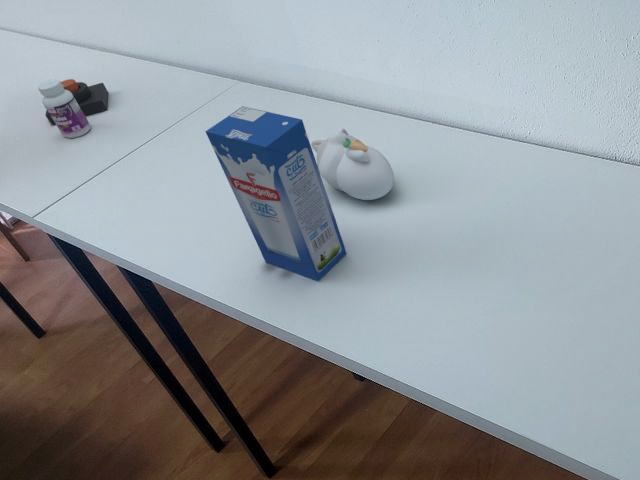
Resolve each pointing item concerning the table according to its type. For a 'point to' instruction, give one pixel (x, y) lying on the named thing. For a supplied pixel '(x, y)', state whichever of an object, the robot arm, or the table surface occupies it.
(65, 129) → the pill bottle
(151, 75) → the table surface
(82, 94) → the black button base
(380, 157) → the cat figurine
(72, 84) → the lid button
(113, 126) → the table surface
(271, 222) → the milk carton
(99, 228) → the table surface
